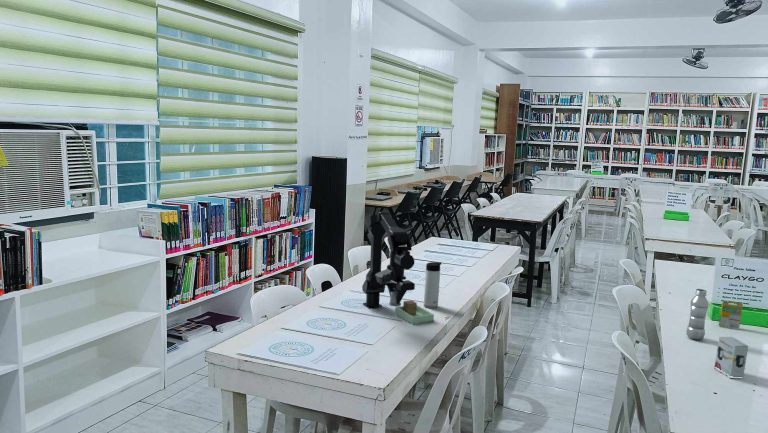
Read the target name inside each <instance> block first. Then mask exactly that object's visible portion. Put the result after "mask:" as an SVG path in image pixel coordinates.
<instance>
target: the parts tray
mask: <svg viewBox="0 0 768 433" xmlns="http://www.w3.org/2000/svg"><path fill="white" fill-rule="evenodd" d="M394 308H395V309H394V310H395V312H394V315H396V314H397V316H398V315H399V316H400V318H401V317H402V319H403V320H404V321H405V322H408V323H409V324H411V325H418V324H419V325H420V324H425V323H426V324H427V323H431V322H434V317H435V314H434V313H432V312H431V311H429V310H427V309H425V308H424V307H422V306H419V305H418V304H417V307H416V315H410V314H408V313H406V312H405V311H403V305H401V306H397V307H394ZM399 316H398V317H399Z"/></svg>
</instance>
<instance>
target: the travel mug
mask: <svg viewBox="0 0 768 433" xmlns="http://www.w3.org/2000/svg"><path fill="white" fill-rule="evenodd" d="M425 265H426V266H425V267H426V268H425V277H424V278H425V279H424V294H423V295H424V296H423V306H424V307H425V308H426V309H433V310H434V309H437V308H439V298H440V297H439V296H440V295H439V293H440V276H441V265H442V262H441V261H440V262H439V261H432V262H428V263H426V264H425ZM424 307H423V308H424Z"/></svg>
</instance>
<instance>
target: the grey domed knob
mask: <svg viewBox="0 0 768 433" xmlns="http://www.w3.org/2000/svg"><path fill="white" fill-rule="evenodd" d="M389 297H390V298H389V302H388V303H389V304H388V305H389V306H390V307H394V308H395V307H399V306H402V302H400V303H399V304H397V303H396V291H391V293H390V294H389Z"/></svg>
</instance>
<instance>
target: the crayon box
mask: <svg viewBox="0 0 768 433" xmlns="http://www.w3.org/2000/svg"><path fill="white" fill-rule="evenodd" d="M743 305H744V303H742V302H735V301H728V300H723V301H722V303H721V305H720V306H721V308H720V314H719V315H720V316H719V322H718V326H719V327H720V328H725V327H726V328H725V329H731V328H732V329H733V330H737V329H738V331H739V330H740V326H741V318H742V312H743Z"/></svg>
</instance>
